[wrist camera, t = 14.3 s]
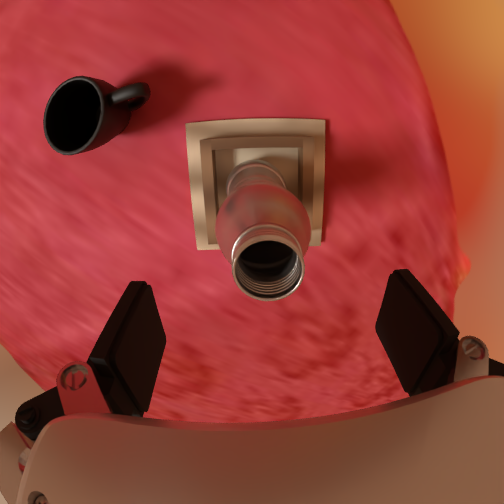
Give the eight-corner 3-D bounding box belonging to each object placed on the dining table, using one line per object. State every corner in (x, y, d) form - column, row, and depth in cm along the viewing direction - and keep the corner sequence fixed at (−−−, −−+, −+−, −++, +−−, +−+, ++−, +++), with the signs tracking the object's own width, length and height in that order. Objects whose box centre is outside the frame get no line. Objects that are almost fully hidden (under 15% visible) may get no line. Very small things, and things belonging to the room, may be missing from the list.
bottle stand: (187, 123, 29) (179, 123, 25) (322, 120, 29) (332, 119, 25) (198, 246, 36) (193, 260, 32) (318, 242, 36) (326, 256, 32)
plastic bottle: (258, 145, 29) (276, 174, 11) (294, 189, 32) (355, 277, 14) (215, 181, 31) (173, 263, 13) (253, 222, 33) (261, 339, 15)
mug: (174, 130, 29) (146, 132, 20) (91, 152, 29) (48, 165, 21) (166, 68, 25) (137, 49, 17) (84, 96, 26) (39, 94, 17)
